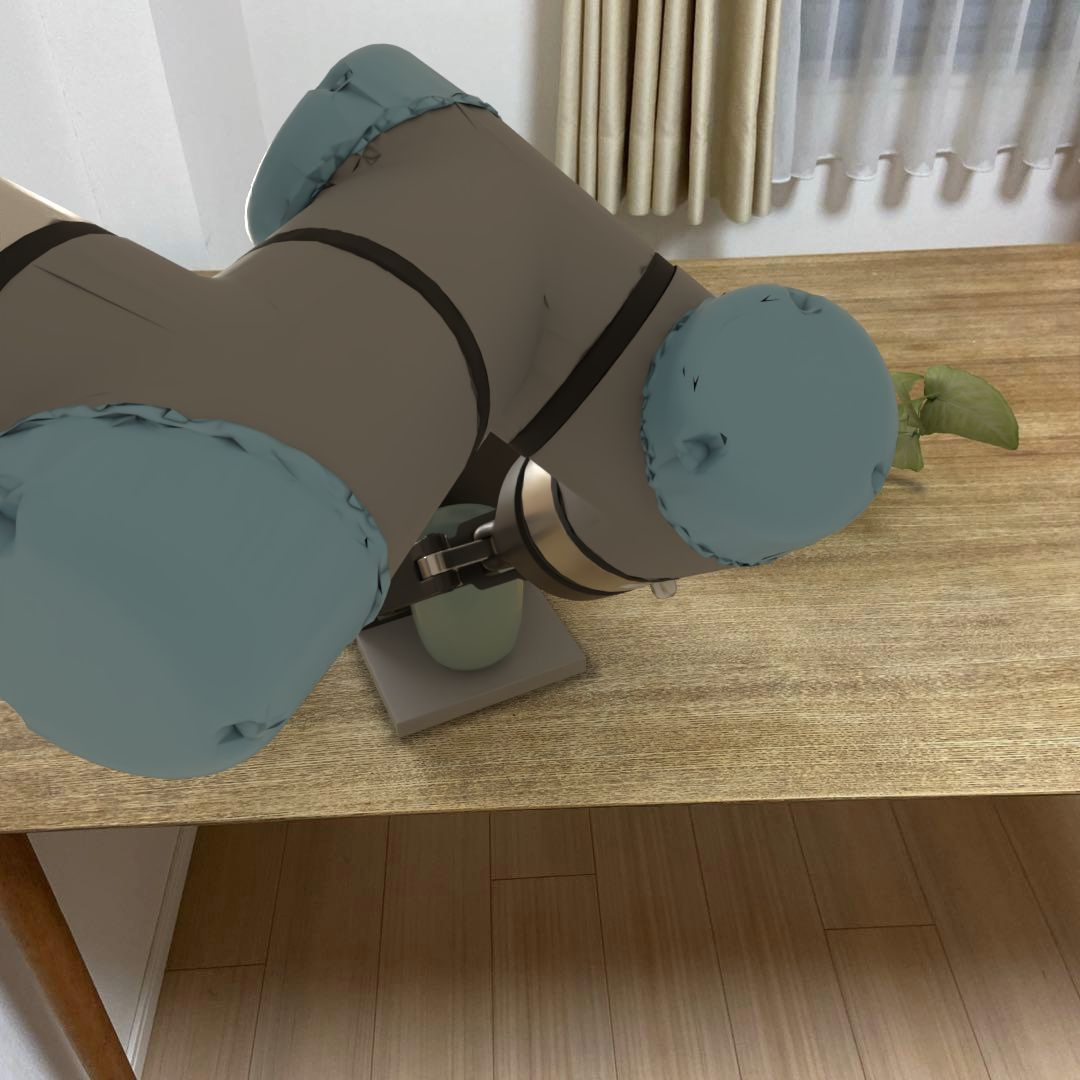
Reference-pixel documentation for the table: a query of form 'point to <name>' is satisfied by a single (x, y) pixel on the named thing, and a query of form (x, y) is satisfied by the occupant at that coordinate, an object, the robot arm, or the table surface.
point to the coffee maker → (444, 694)
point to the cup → (468, 609)
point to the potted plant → (950, 412)
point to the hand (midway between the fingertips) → (484, 563)
